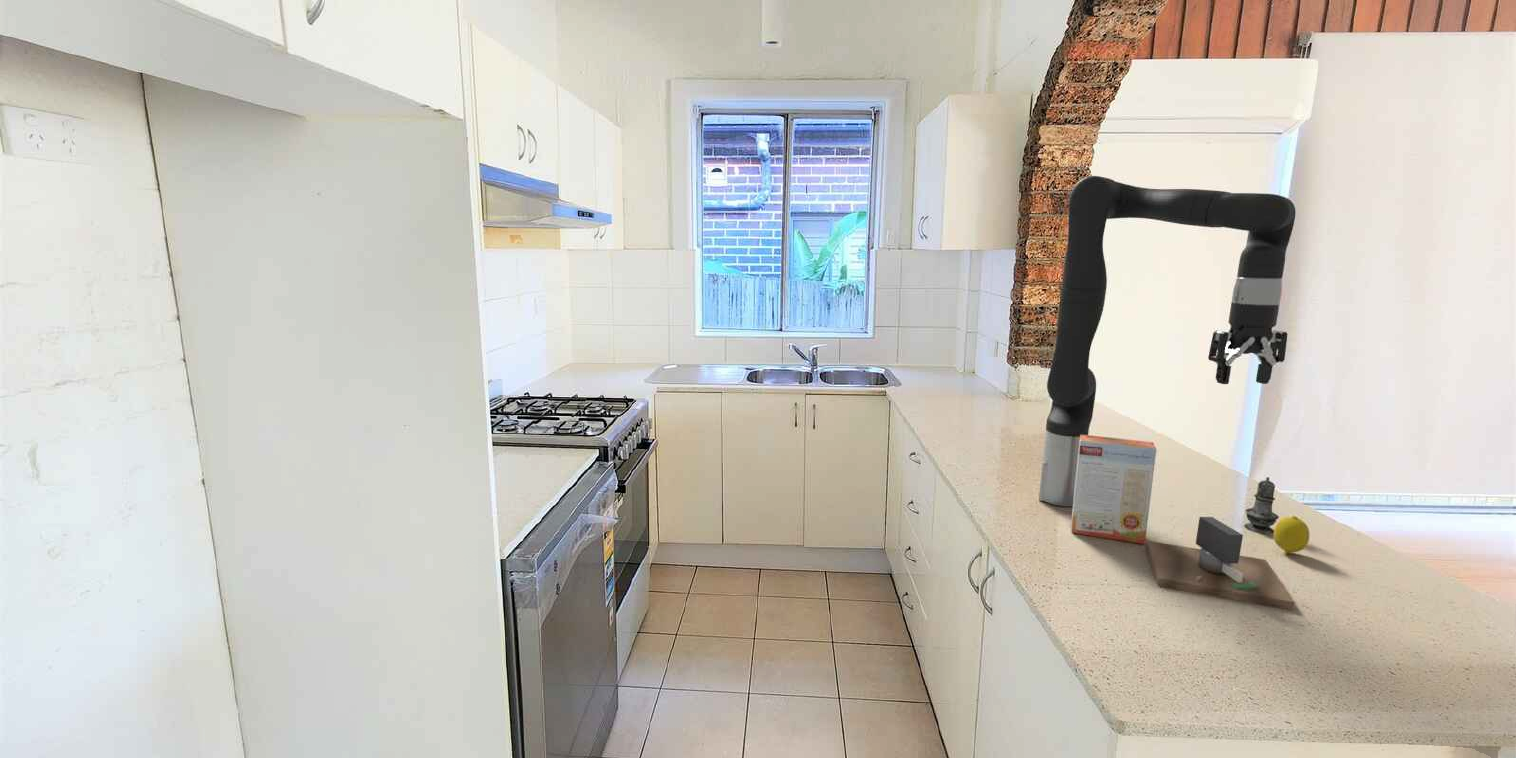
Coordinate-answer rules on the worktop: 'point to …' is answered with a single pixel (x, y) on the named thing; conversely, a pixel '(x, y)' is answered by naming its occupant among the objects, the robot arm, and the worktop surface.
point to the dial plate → (1217, 576)
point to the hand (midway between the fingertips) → (1242, 383)
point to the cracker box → (1113, 488)
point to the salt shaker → (1262, 509)
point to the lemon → (1291, 534)
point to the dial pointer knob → (1218, 547)
